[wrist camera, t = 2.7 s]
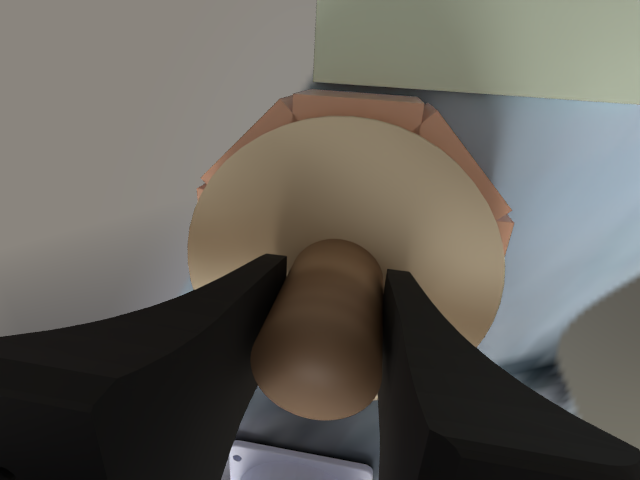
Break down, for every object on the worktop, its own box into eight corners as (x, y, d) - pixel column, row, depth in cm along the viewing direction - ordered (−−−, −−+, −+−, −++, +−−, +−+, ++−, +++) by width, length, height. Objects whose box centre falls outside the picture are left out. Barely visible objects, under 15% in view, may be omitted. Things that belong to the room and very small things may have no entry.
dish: (453, 342, 17) (465, 394, 14) (235, 310, 18) (209, 352, 16) (513, 103, 13) (545, 112, 10) (227, 83, 14) (189, 86, 11)
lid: (462, 408, 13) (493, 549, 9) (205, 365, 15) (137, 476, 11) (541, 131, 10) (648, 173, 6) (184, 102, 11) (65, 121, 7)
